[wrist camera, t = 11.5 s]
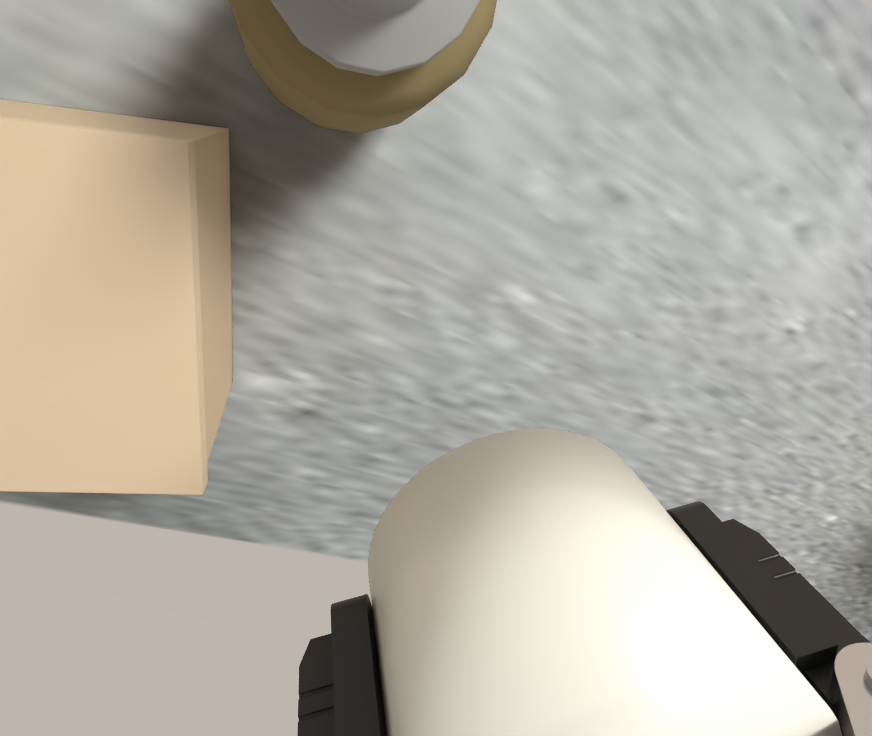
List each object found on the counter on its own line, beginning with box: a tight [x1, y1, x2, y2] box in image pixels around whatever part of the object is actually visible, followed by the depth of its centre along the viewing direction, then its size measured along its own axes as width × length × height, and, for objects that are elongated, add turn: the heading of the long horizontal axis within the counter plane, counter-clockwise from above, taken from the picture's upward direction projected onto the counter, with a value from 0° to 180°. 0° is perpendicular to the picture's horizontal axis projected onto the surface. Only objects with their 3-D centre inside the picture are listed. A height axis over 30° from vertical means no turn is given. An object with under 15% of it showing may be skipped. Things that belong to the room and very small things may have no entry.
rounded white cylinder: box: [368, 428, 842, 736], centre depth 10 cm, size 6×6×6 cm
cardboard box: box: [0, 99, 233, 463], centre depth 22 cm, size 11×12×8 cm
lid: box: [0, 116, 208, 495], centre depth 18 cm, size 11×12×1 cm
